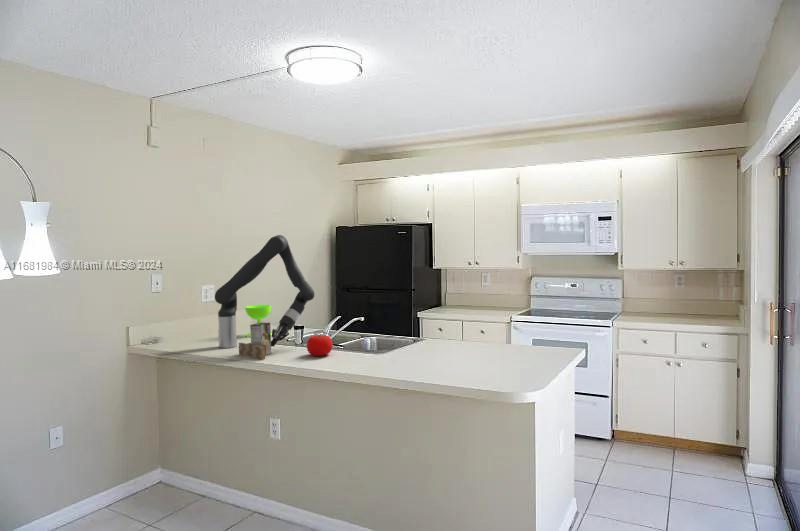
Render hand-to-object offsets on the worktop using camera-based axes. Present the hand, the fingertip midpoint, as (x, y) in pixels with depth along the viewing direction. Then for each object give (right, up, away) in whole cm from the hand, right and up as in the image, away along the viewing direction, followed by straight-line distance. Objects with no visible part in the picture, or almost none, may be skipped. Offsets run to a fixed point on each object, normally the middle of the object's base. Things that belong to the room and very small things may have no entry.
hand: (271, 345), depth 294 cm
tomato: (+26, -4, -8) cm, 28 cm away
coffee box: (-4, -4, -4) cm, 7 cm away
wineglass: (-21, -2, +60) cm, 63 cm away
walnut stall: (-7, -4, -7) cm, 11 cm away
